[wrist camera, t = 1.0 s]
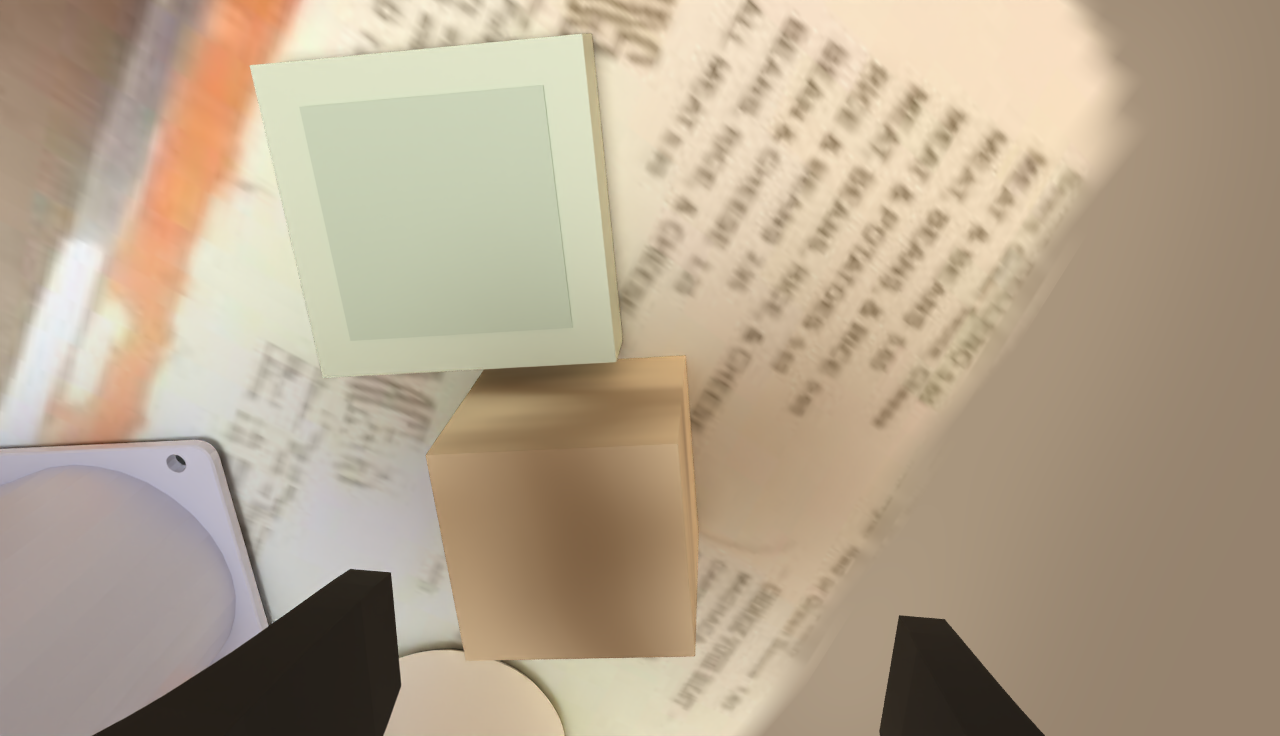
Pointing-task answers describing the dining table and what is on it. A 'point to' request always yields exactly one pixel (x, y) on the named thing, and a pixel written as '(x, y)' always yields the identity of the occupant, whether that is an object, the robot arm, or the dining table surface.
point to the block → (571, 511)
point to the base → (447, 205)
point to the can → (468, 699)
